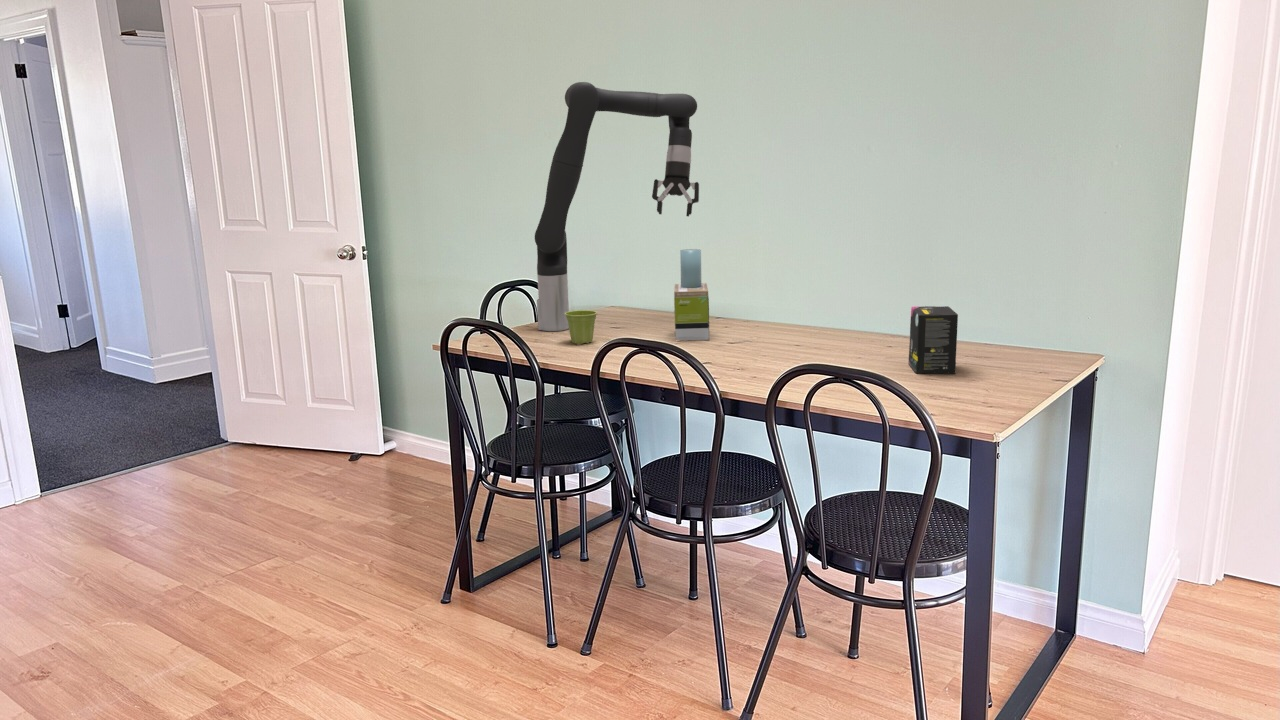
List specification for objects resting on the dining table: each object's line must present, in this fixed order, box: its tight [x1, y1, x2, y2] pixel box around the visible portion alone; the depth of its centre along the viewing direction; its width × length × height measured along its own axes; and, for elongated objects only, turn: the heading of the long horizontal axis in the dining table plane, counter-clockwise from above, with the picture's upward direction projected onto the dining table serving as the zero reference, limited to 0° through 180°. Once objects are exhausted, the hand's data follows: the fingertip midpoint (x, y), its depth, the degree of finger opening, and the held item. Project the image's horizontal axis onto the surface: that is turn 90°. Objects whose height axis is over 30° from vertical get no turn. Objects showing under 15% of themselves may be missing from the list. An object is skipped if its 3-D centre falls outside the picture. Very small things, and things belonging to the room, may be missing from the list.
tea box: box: [673, 282, 710, 341], centre depth 269 cm, size 15×10×15 cm, turn 177°
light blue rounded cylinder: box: [679, 248, 702, 288], centre depth 266 cm, size 6×6×10 cm
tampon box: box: [908, 305, 959, 375], centre depth 221 cm, size 11×9×15 cm
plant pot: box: [565, 309, 598, 345], centre depth 265 cm, size 9×9×9 cm
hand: (674, 215), depth 282 cm, fingers open, 8 cm apart
